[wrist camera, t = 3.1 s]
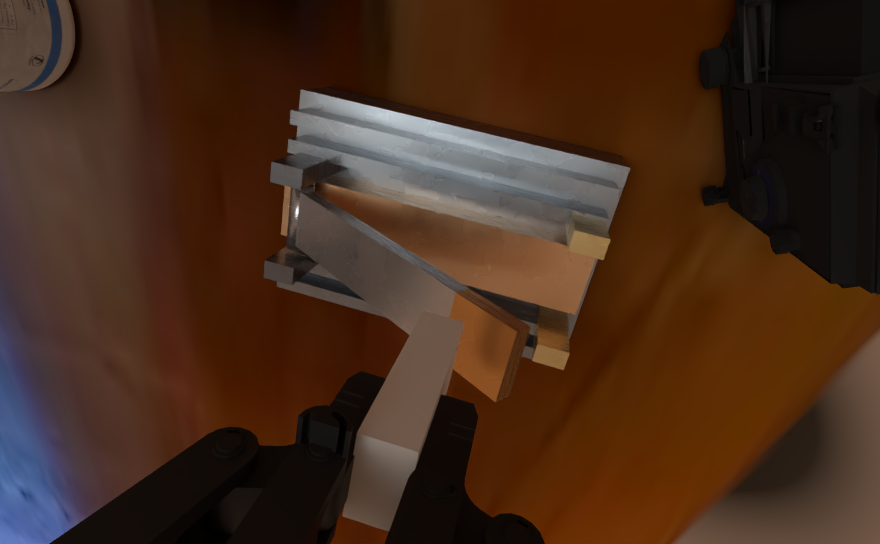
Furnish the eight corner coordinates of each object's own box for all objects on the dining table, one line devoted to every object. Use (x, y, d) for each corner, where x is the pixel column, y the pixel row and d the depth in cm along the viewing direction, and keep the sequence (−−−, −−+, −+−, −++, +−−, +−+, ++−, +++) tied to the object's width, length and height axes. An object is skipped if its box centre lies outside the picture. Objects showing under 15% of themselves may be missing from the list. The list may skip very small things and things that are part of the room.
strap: (301, 241, 29) (282, 243, 28) (307, 179, 27) (287, 180, 26) (510, 400, 19) (489, 410, 18) (536, 318, 18) (515, 325, 17)
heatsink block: (311, 262, 36) (240, 318, 28) (330, 87, 31) (251, 93, 23) (560, 331, 34) (562, 414, 26) (620, 155, 29) (647, 188, 21)
